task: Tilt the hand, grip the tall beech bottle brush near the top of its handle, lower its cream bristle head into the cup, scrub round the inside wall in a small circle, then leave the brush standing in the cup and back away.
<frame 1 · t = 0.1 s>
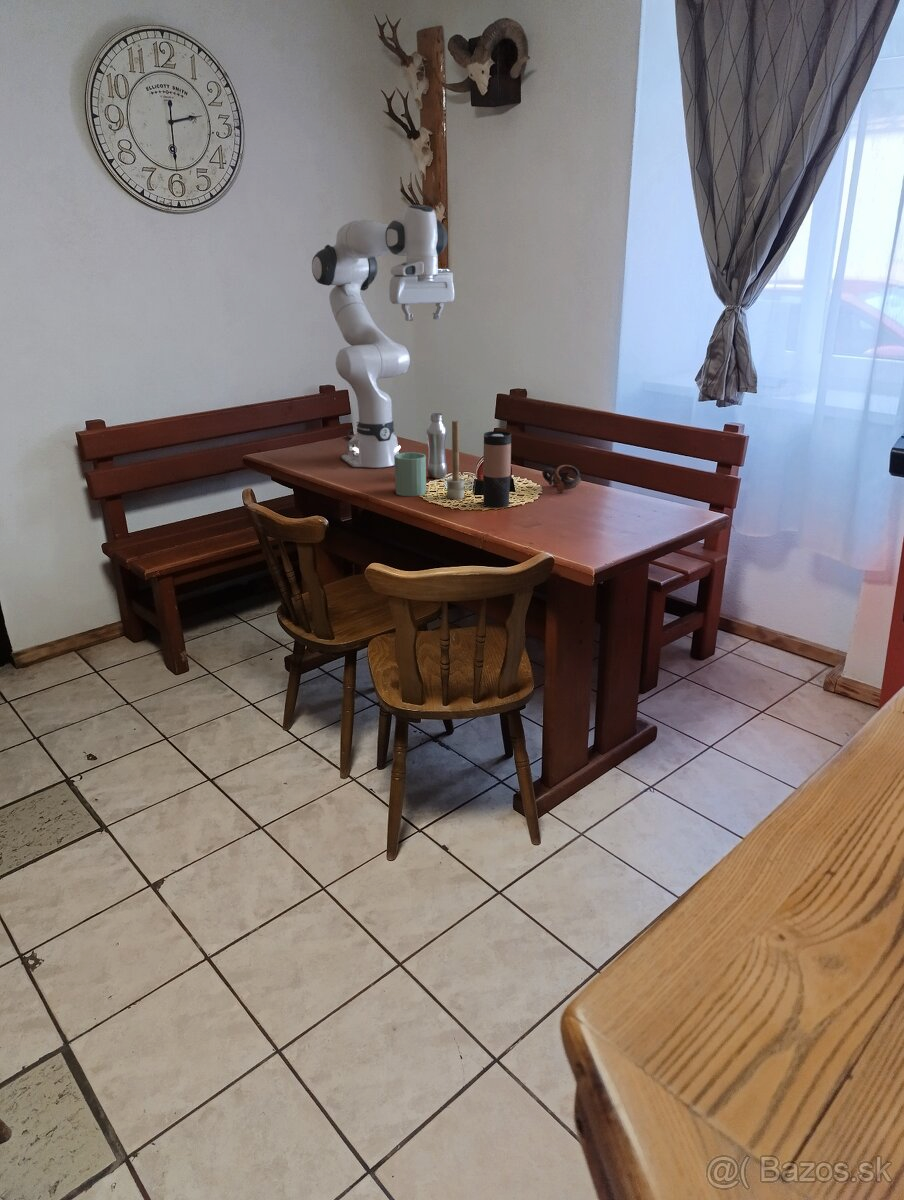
hand: (423, 320, 235), 48 cm above the table, tool pointing down, fingers open, 8 cm apart
dark looped ring: (560, 489, 245), on the table
travel mug: (496, 504, 230), on the table
silver metal bottle: (437, 478, 259), on the table
cup: (410, 492, 243), on the table
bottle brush: (455, 496, 238), on the table
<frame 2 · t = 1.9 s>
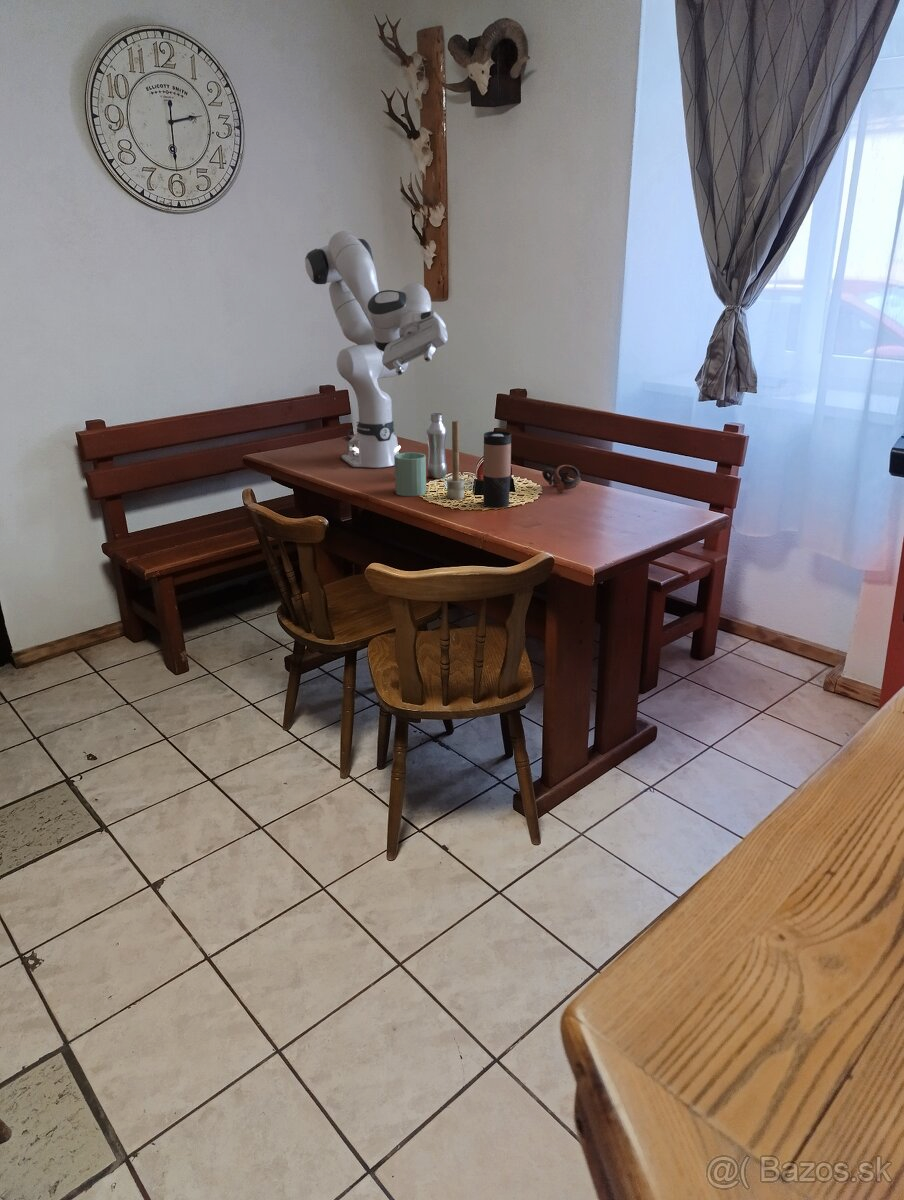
hand: (413, 366, 223), 37 cm above the table, tool tilted 50°, fingers open, 8 cm apart
nothing on the table moved.
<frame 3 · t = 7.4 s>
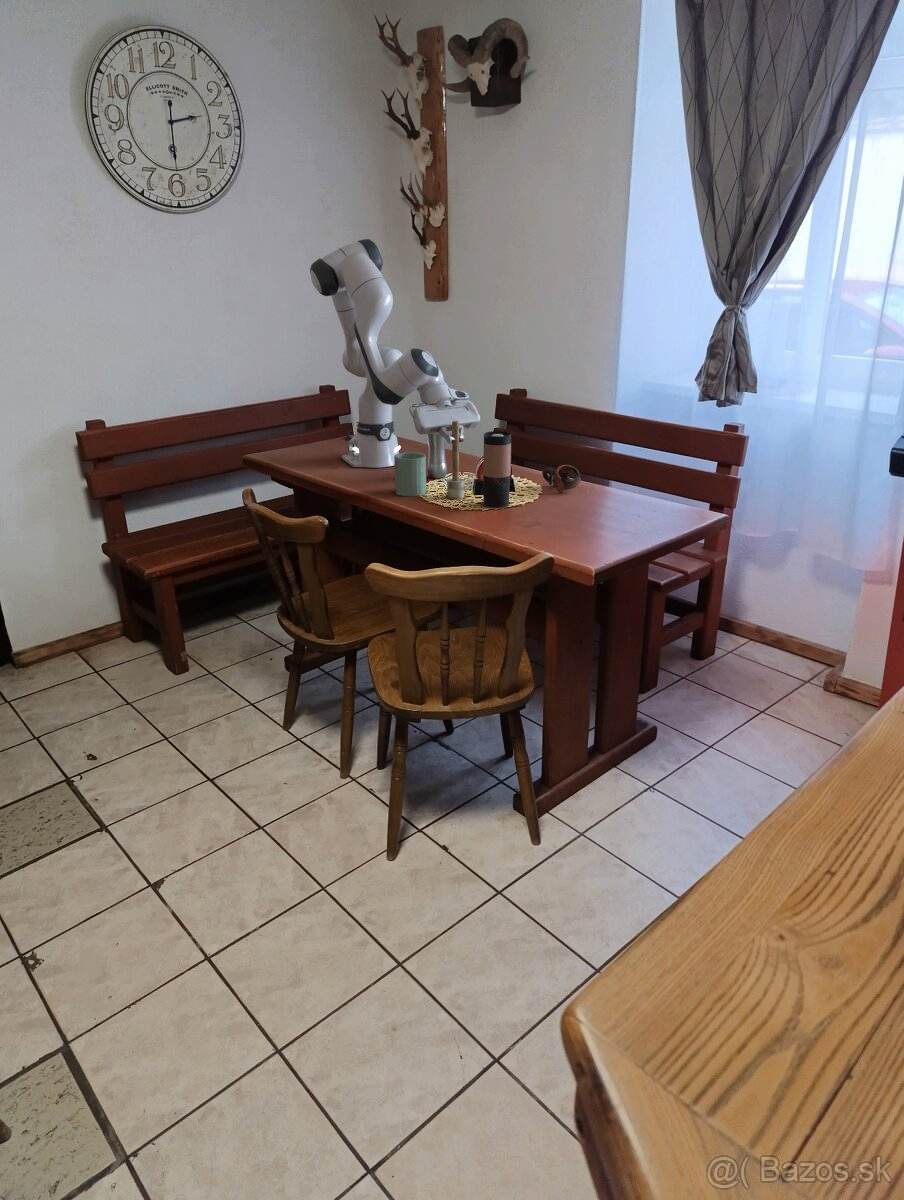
hand: (456, 441, 231), 16 cm above the table, tool tilted 45°, fingers closed on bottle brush
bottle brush: (455, 496, 238), on the table, touching gripper
everything else where it was.
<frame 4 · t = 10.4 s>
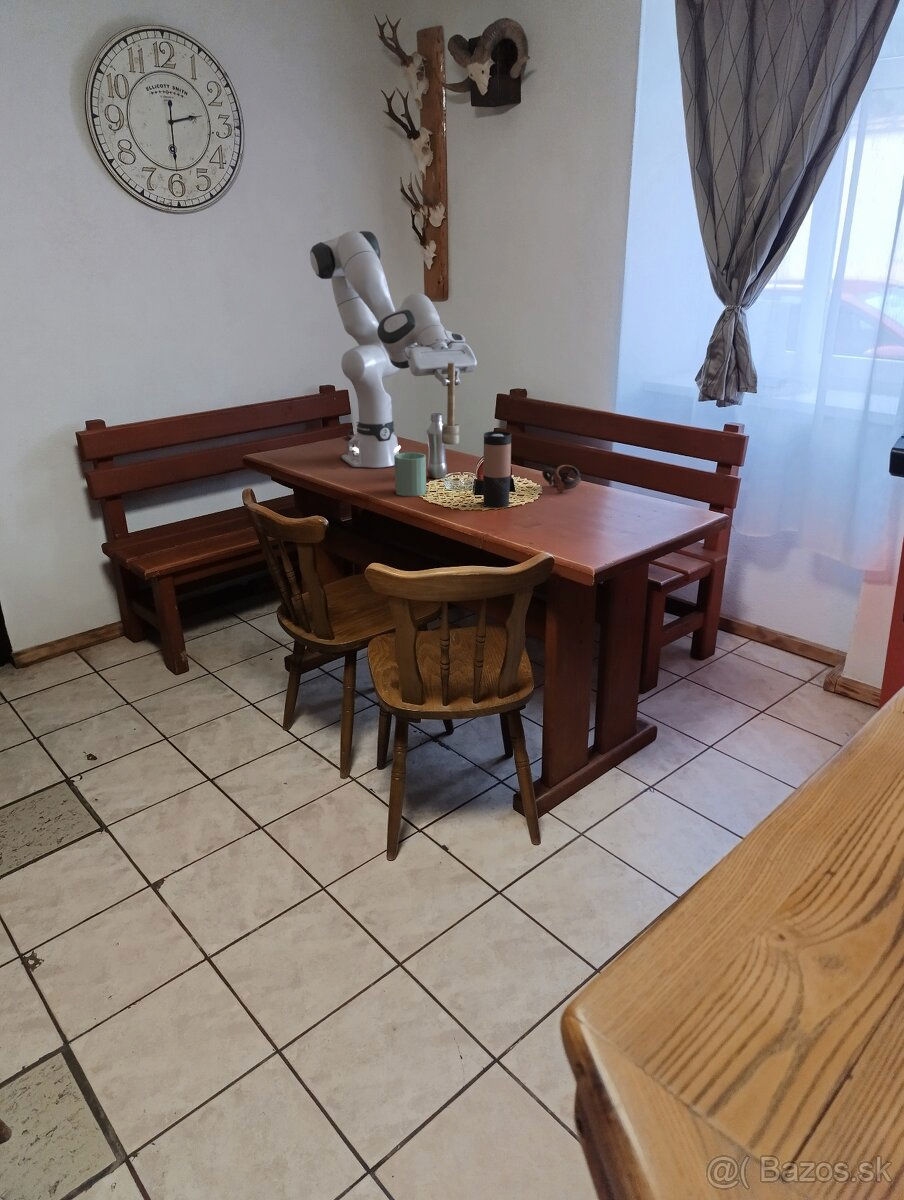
hand: (452, 384, 225), 32 cm above the table, tool tilted 45°, fingers closed on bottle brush
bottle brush: (450, 442, 232), point 16 cm above the table, touching gripper
everything else where it was.
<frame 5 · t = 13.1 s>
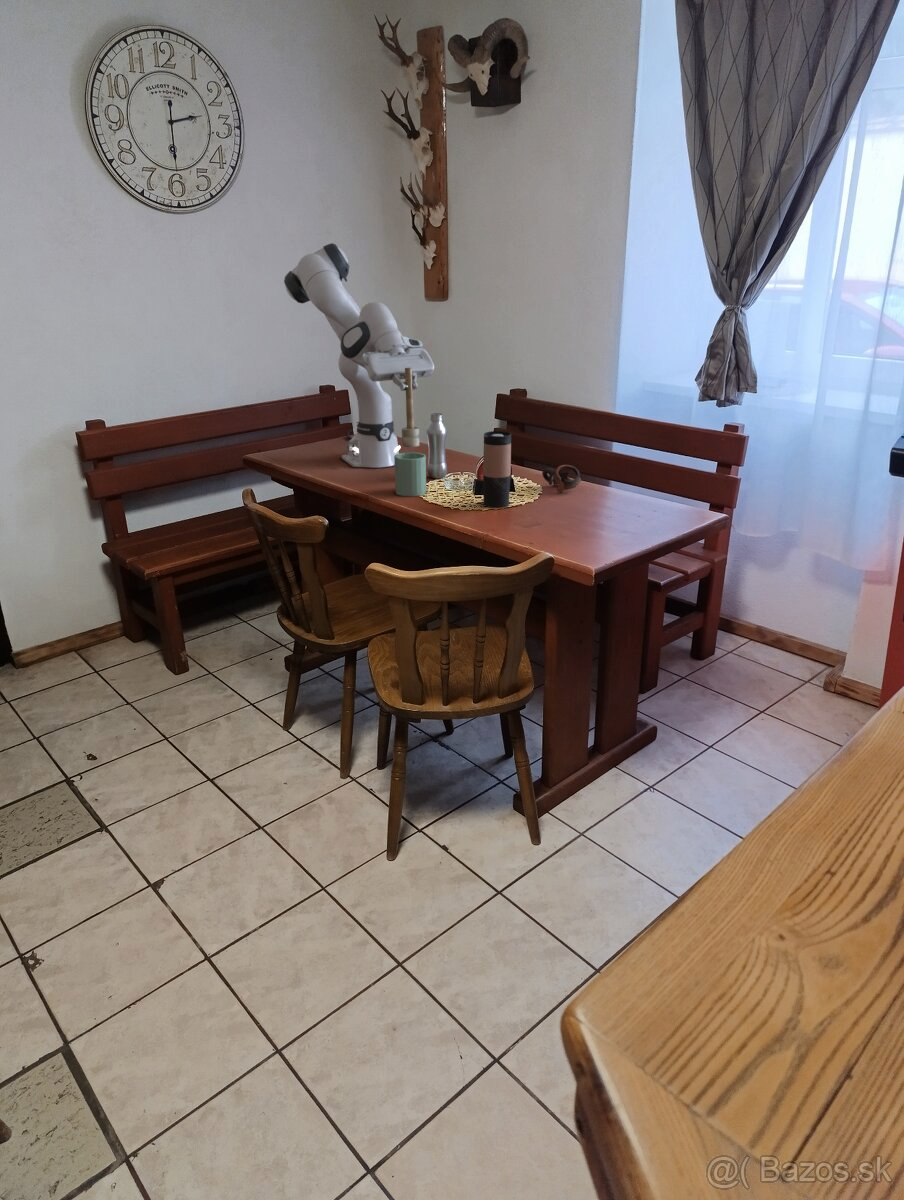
hand: (410, 388, 230), 30 cm above the table, tool tilted 45°, fingers closed on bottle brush
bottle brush: (410, 445, 237), point 14 cm above the table, touching gripper
everything else where it was.
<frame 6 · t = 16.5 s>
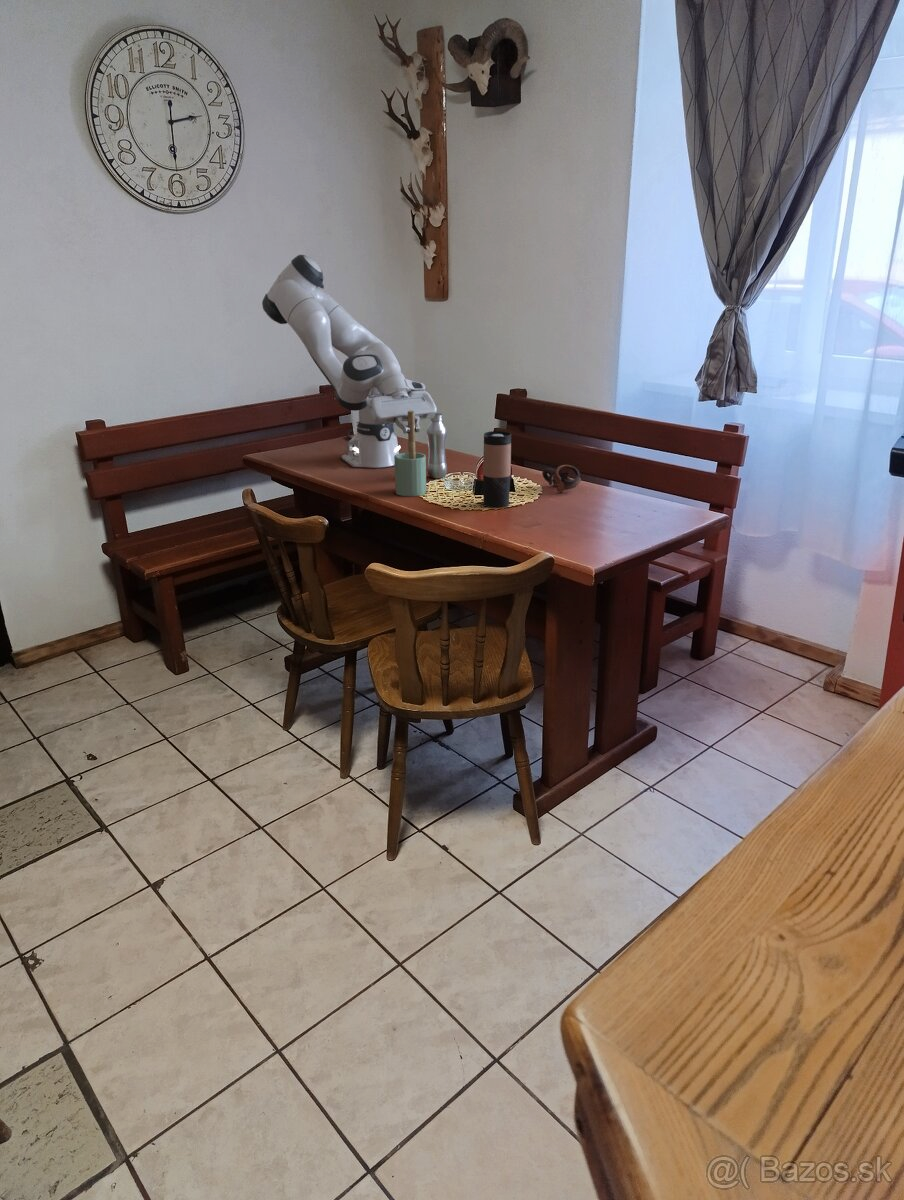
hand: (412, 431, 234), 18 cm above the table, tool tilted 45°, fingers closed on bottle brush
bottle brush: (412, 486, 241), point 2 cm above the table, touching gripper
everything else where it was.
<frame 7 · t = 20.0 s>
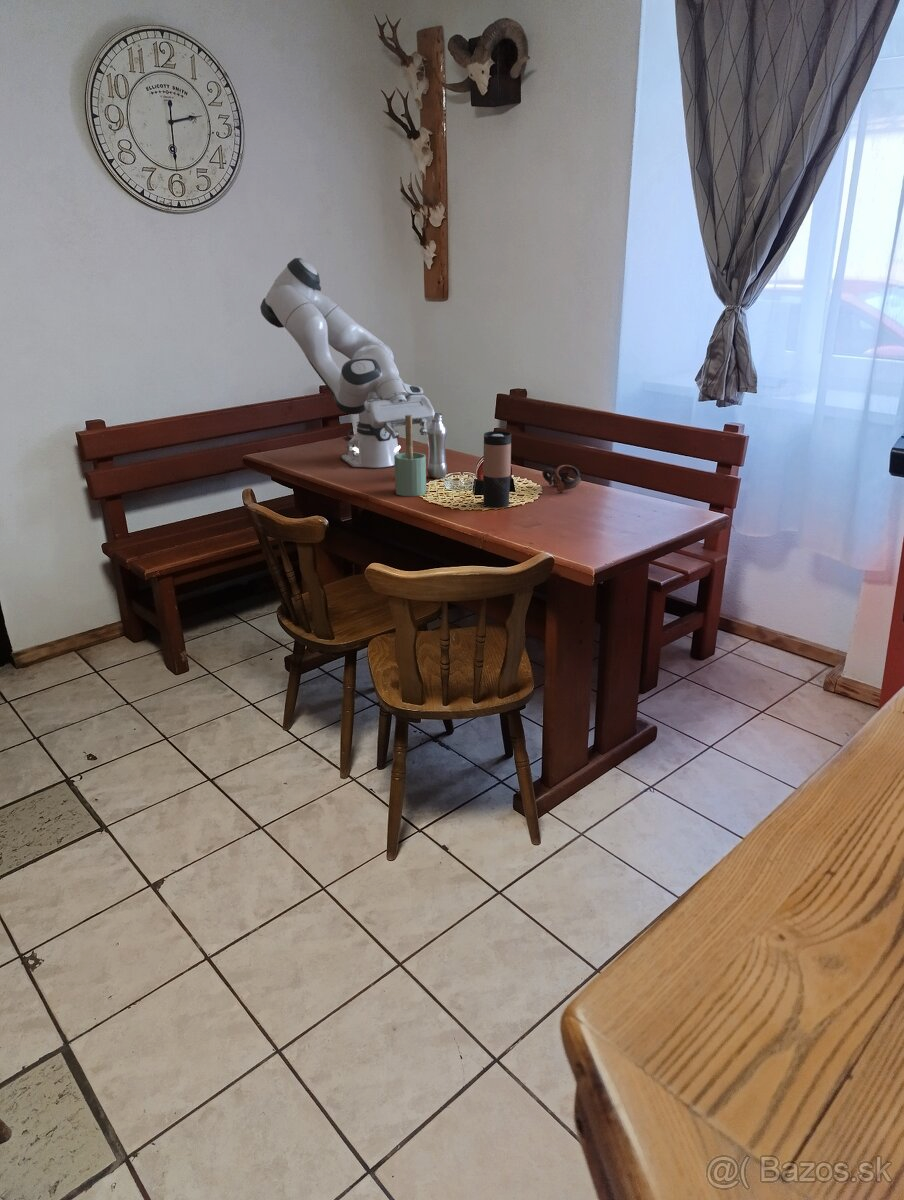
hand: (410, 435, 235), 17 cm above the table, tool tilted 45°, fingers open, 8 cm apart
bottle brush: (410, 489, 242), point 1 cm above the table, touching cup
everything else where it was.
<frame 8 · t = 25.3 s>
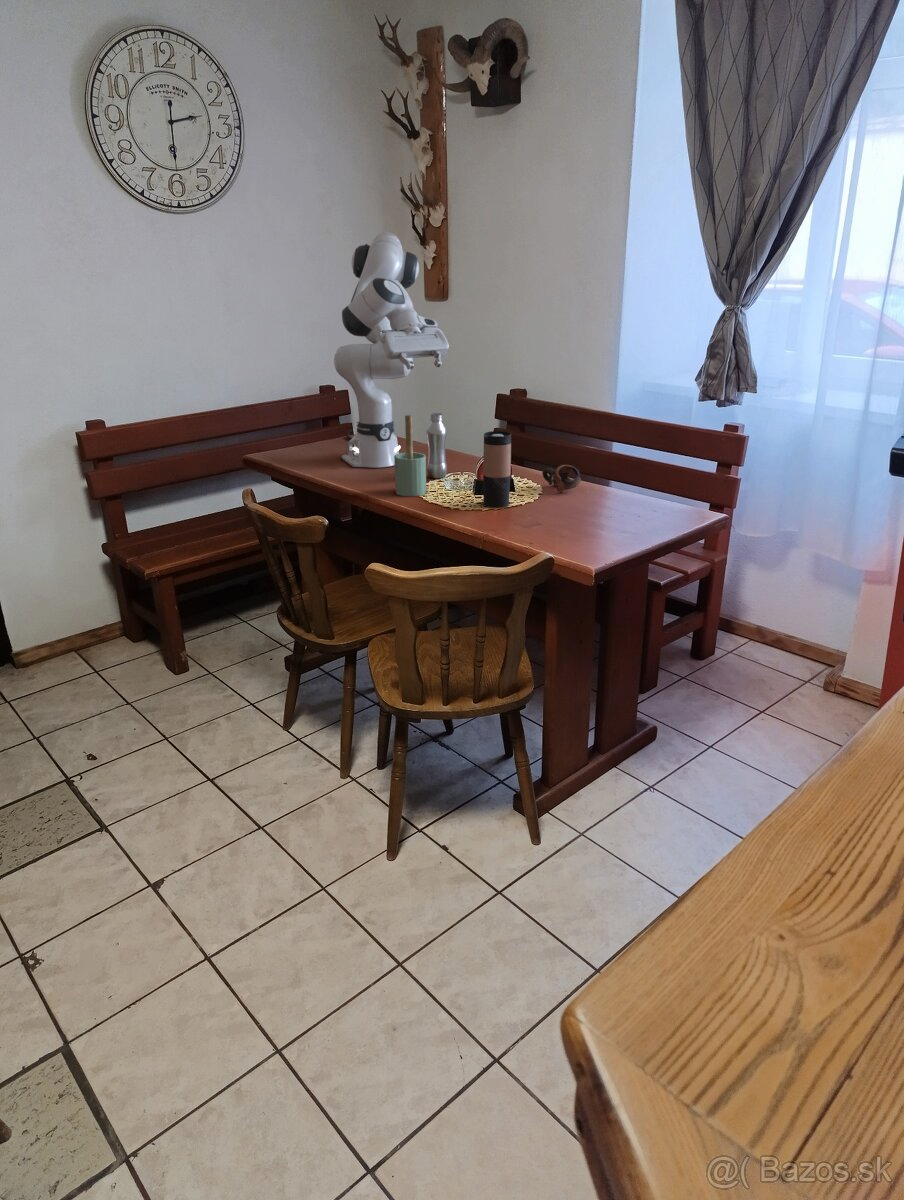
hand: (425, 366, 236), 35 cm above the table, tool tilted 45°, fingers open, 8 cm apart
nothing on the table moved.
at the end: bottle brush inside the target area in the cup (0.2 cm from its centre), point 0.8 cm above the cup's base; the gripper is holding nothing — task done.
